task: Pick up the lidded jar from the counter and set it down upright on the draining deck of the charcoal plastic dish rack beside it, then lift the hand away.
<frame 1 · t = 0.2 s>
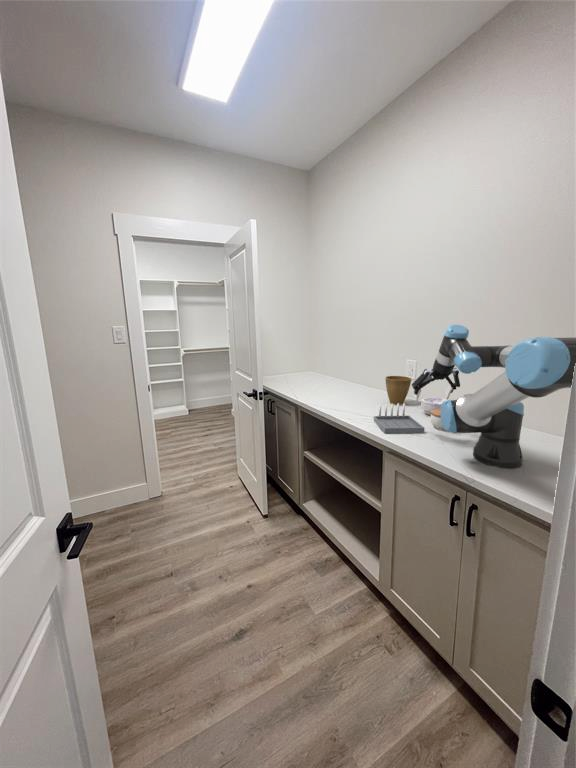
hand: (430, 398, 139), 16 cm above the worktop, tool tilted 30°, fingers open, 13 cm apart
dish rack: (397, 426, 149), on the worktop
paper bowls: (435, 414, 166), on the worktop
plant pot: (396, 403, 189), on the worktop
lidded jar: (441, 428, 146), on the worktop
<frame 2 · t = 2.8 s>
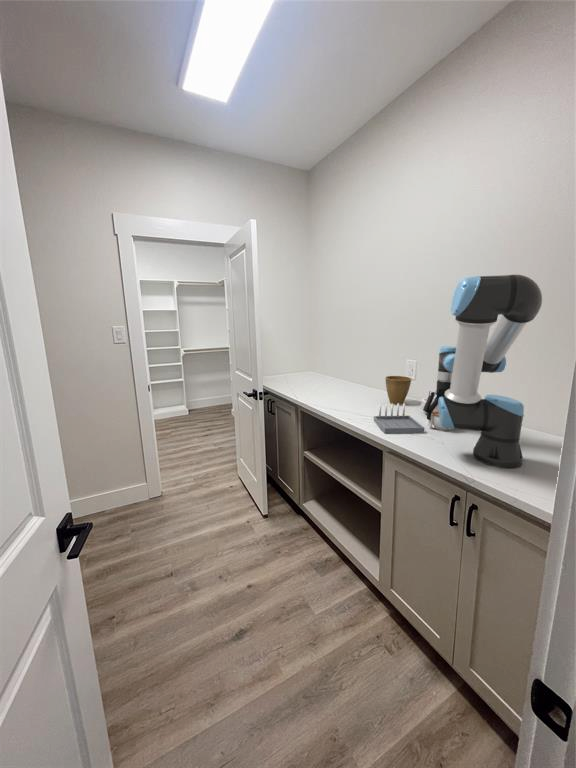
hand: (441, 426, 146), 1 cm above the worktop, tool pointing down, fingers closed on lidded jar, 11 cm apart
lidded jar: (441, 428, 146), on the worktop, touching gripper
everything else where it was.
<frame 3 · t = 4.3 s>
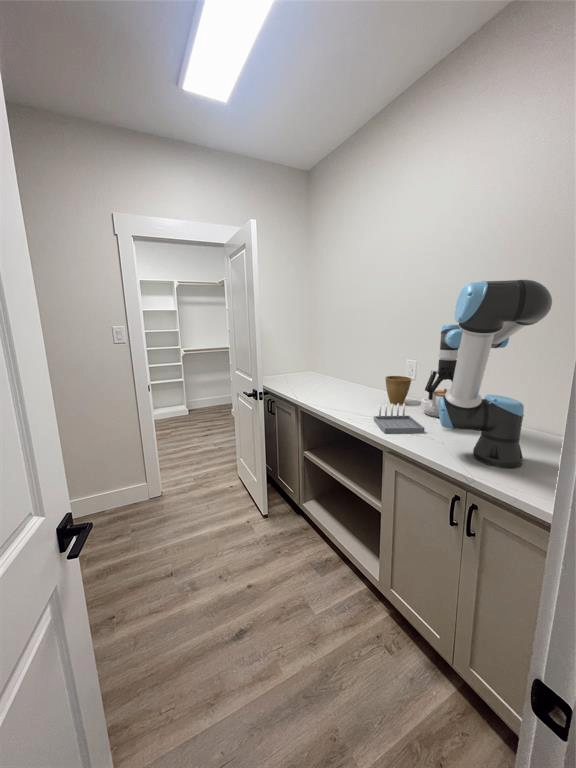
hand: (444, 406, 143), 11 cm above the worktop, tool pointing down, fingers closed on lidded jar, 11 cm apart
lidded jar: (443, 408, 143), point 10 cm above the worktop, touching gripper
everything else where it was.
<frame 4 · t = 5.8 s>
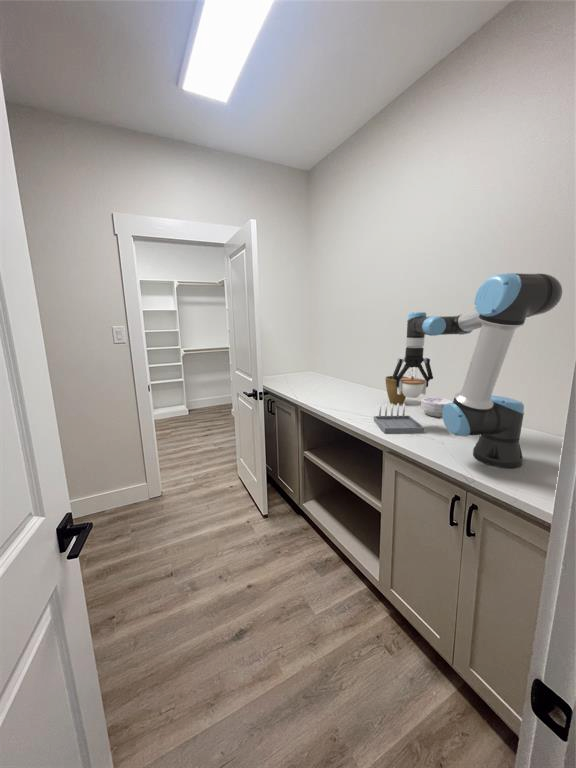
hand: (411, 394, 144), 16 cm above the worktop, tool pointing down, fingers closed on lidded jar, 11 cm apart
lidded jar: (411, 396, 145), point 15 cm above the worktop, touching gripper
everything else where it was.
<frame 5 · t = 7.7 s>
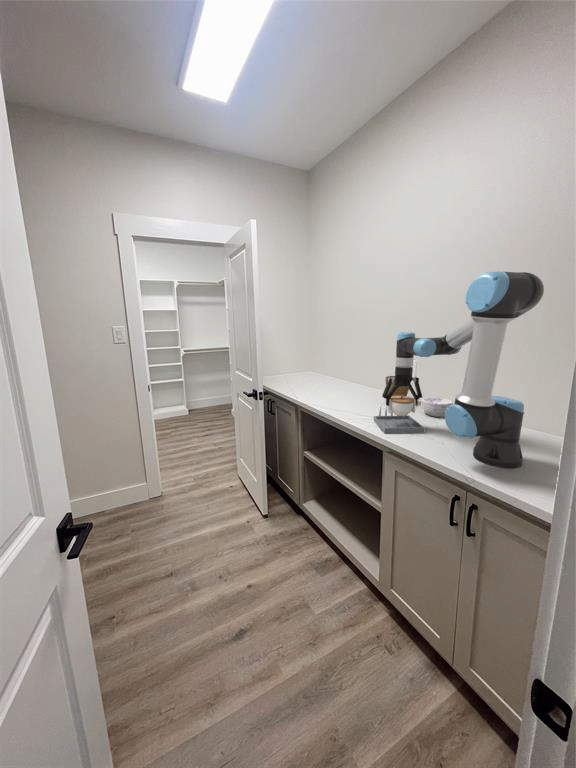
hand: (400, 412, 146), 7 cm above the worktop, tool pointing down, fingers closed on lidded jar, 11 cm apart
lidded jar: (400, 414, 147), point 6 cm above the worktop, touching gripper
everything else where it was.
when the fingers open (4 cm above the worktop, at t = 9.0 s): lidded jar drops 1 cm, resting on dish rack.
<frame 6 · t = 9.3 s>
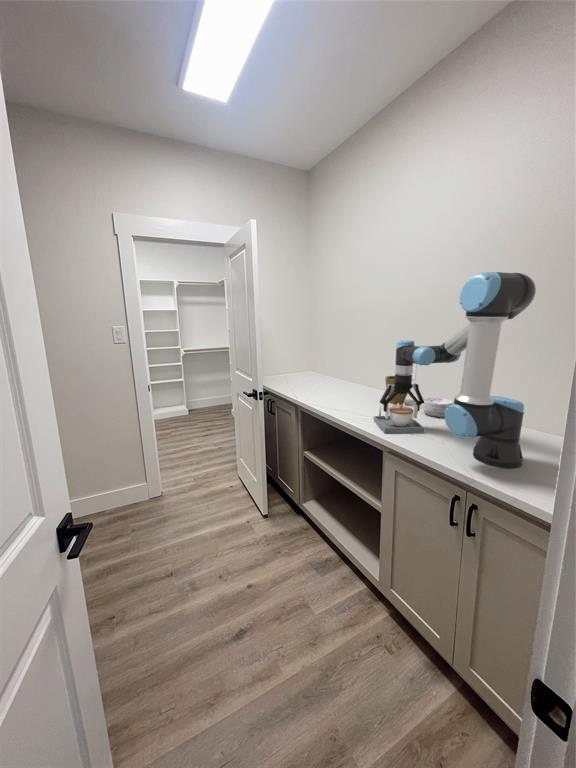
hand: (400, 417, 147), 5 cm above the worktop, tool pointing down, fingers open, 13 cm apart
lidded jar: (400, 424, 148), point 1 cm above the worktop, touching dish rack
everything else where it was.
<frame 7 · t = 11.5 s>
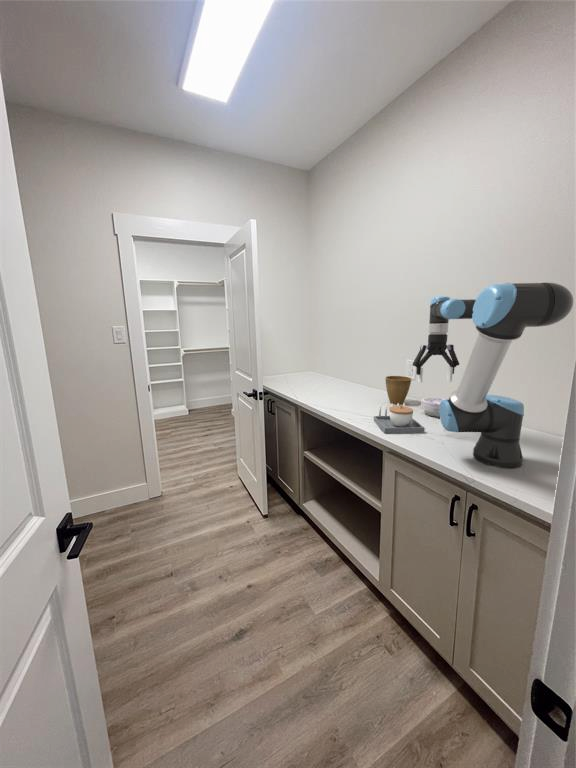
hand: (434, 381, 138), 23 cm above the worktop, tool pointing down, fingers open, 13 cm apart
nothing on the worktop moved.
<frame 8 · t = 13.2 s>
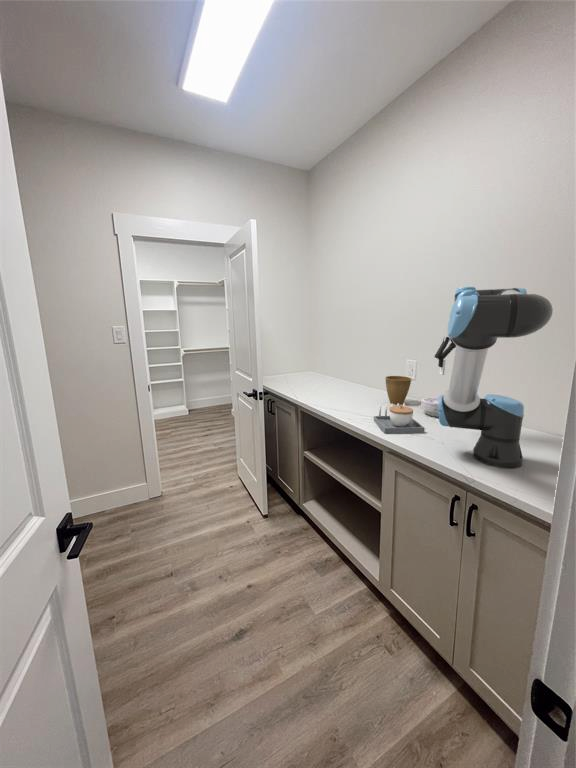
hand: (457, 374, 135), 27 cm above the worktop, tool pointing down, fingers open, 13 cm apart
nothing on the worktop moved.
at the end: lidded jar inside the target area on the dish rack (0.9 cm from its centre), point 1.2 cm above the dish rack's base; lidded jar tilted 0°; the gripper is holding nothing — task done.
